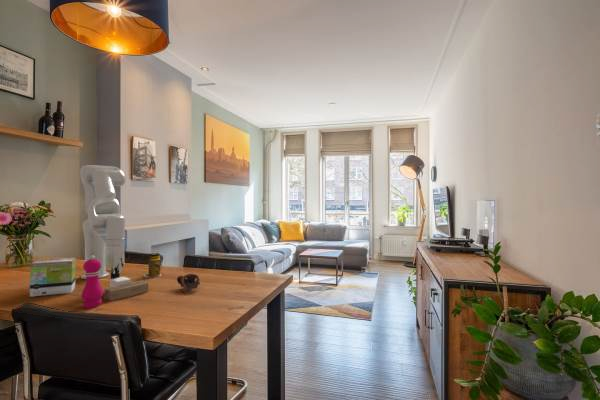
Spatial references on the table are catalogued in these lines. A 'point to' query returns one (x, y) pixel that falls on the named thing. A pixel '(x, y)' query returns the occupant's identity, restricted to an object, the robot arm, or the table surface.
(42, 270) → the tea box
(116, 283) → the block
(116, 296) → the board
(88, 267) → the pepper mill
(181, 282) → the pottery mug
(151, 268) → the condiment
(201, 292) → the table surface
